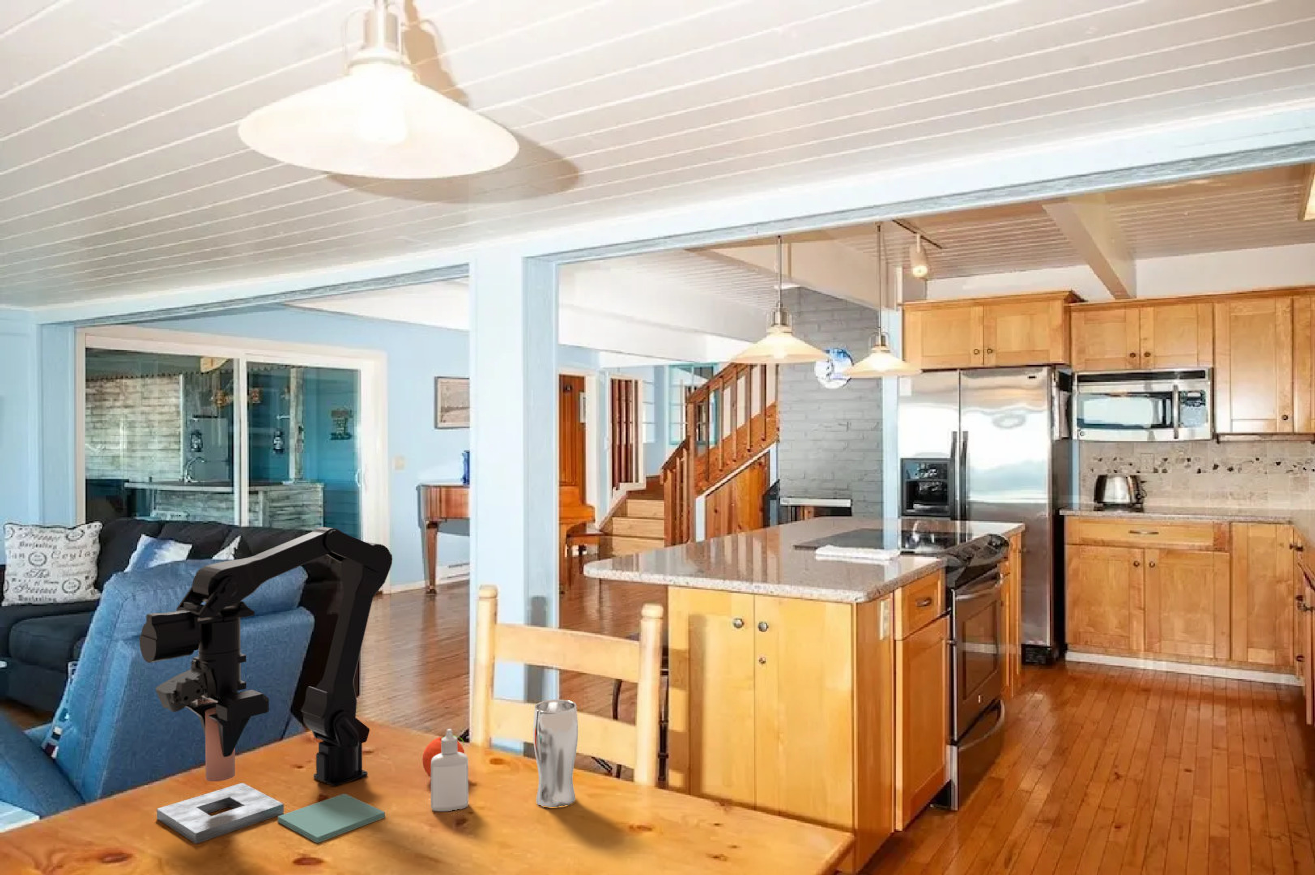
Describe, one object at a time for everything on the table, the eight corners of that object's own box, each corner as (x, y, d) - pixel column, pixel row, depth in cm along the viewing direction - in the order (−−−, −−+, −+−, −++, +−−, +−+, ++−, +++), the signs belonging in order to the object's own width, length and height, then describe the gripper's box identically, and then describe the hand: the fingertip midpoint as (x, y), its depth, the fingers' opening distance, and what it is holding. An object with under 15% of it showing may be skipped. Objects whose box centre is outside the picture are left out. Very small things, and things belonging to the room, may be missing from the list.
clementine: (450, 766, 158) (450, 725, 158) (478, 775, 154) (478, 733, 154) (413, 781, 152) (413, 738, 152) (441, 790, 148) (441, 746, 148)
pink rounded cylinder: (227, 769, 141) (227, 704, 141) (239, 775, 138) (239, 709, 138) (200, 777, 138) (200, 710, 138) (213, 783, 135) (212, 716, 135)
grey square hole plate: (242, 792, 147) (242, 782, 147) (283, 813, 139) (283, 804, 139) (156, 819, 137) (156, 809, 137) (195, 844, 129) (195, 833, 129)
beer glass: (525, 806, 142) (524, 709, 141) (547, 789, 148) (546, 697, 148) (565, 813, 139) (564, 714, 139) (585, 796, 145) (585, 702, 145)
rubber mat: (344, 798, 145) (344, 793, 145) (384, 817, 138) (384, 812, 138) (277, 821, 136) (277, 816, 136) (317, 843, 129) (317, 837, 129)
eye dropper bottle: (459, 815, 138) (459, 736, 138) (426, 811, 140) (425, 732, 140) (472, 803, 143) (472, 726, 143) (440, 799, 144) (439, 723, 144)
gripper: (136, 650, 138) (137, 753, 138) (192, 671, 126) (193, 784, 126) (211, 637, 146) (212, 734, 146) (270, 655, 134) (271, 761, 134)
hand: (220, 753), depth 138 cm, fingers closed on pink rounded cylinder, 4 cm apart
